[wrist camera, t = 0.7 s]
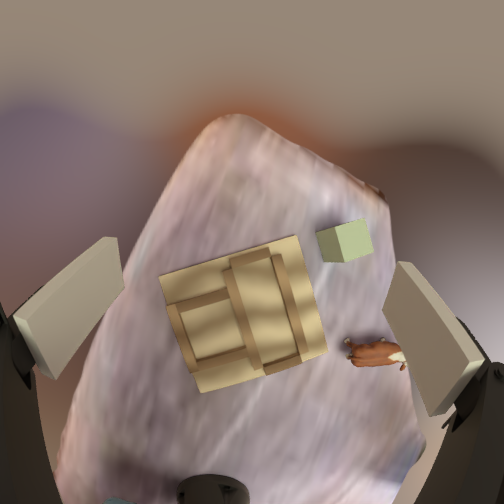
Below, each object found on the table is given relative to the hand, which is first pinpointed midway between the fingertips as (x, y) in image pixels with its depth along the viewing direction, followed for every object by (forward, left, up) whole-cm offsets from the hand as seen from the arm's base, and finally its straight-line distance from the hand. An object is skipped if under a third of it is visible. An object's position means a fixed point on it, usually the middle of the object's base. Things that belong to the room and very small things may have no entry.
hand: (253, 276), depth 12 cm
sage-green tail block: (-2, -17, -31) cm, 35 cm away
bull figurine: (-22, -19, -31) cm, 42 cm away
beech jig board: (-9, 0, -31) cm, 32 cm away
